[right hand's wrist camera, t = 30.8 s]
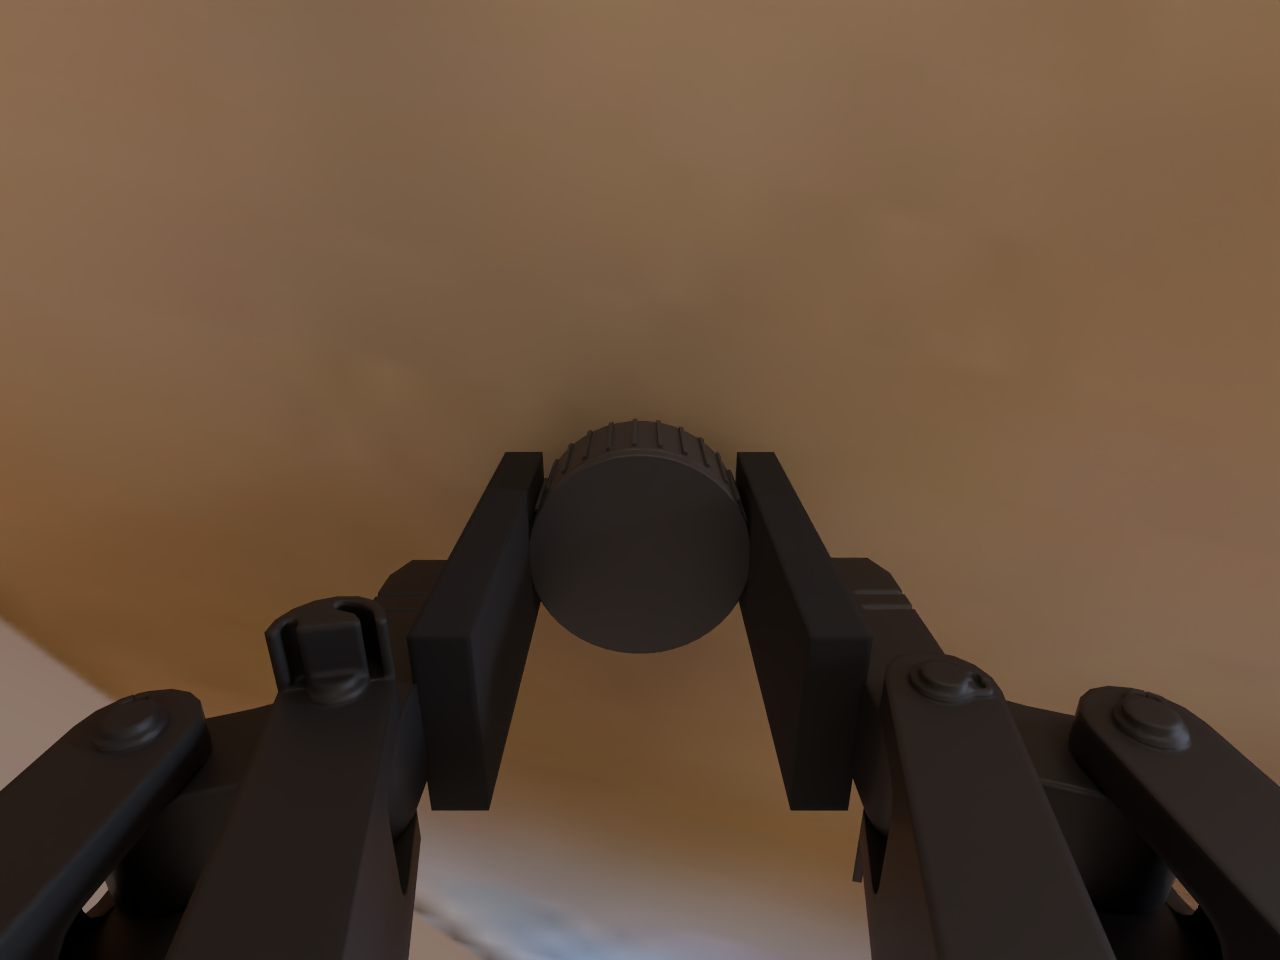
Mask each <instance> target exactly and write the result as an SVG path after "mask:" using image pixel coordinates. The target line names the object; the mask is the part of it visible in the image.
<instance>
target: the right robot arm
mask: <svg viewBox="0 0 1280 960" xmlns="http://www.w3.org/2000/svg"><path fill="white" fill-rule="evenodd" d="M543 482H544V472H543V454H542V452H505V454H504V456H503V458H502V460H501V462H500V464H499V465H498V467H497V469H496V471H495V473H494V475H493V477H492V478H491V480H490V482H489V484H488V486H487V488H486V490H485V491H484V493H483V495H482V497H481V499H480V501H479V502H478V504H477V506H476V508H475V510H474V512H473V514H472V515H471V517H470V519H469V521H468V523H467V525H466V527H465V528H464V530H463V532H462V534H461V536H460V538H459V540H458V541H457V543H456V545H455V547H454V549H453V551H452V553H451V554H450V556H449V558H448V560H412V561H410V562H409V563H407V564H406V565H404V566H403V567H402V568H400V569H399V570H397V571H396V572H394V573H393V574H391V575H390V576H389V577H388V579H387V580H386V582H385V583H384V585H383V586H382V588H381V589H380V591H379V592H378V597H375V598H374V600H371V599H367V598H363V597H359V596H337V597H332V598H327V599H322V600H316V601H313V602H310V603H308V604H305V605H302V606H299V607H297V608H294V609H292V610H290V611H289V612H287V613H286V614H284V615H282V616H281V617H279V618H278V619H276V620H275V621H274V622H273V623H272V624H271V626H270V627H269V628H268V629H267V630H266V631H265V632H264V633H265V637H266V642H267V646H268V650H269V654H270V659H271V663H272V667H273V671H274V676H275V680H276V684H277V688H278V694H277V696H276V699H275V701H274V703H273V704H270V705H266V706H262V707H259V708H255V709H251V710H246V711H241V712H236V713H231V714H226V715H222V716H217V717H212V718H207V719H205V715H204V712H203V709H202V705H201V702H200V700H199V699H198V698H196V697H195V696H194V695H193V694H192V693H190V692H186V691H181V690H175V689H166V690H156V691H147V692H143V693H138V694H136V695H131V696H128V697H125V698H122V699H120V700H118V701H116V702H114V703H112V704H110V705H108V706H105V707H103V708H101V709H99V710H97V711H95V712H94V713H92V714H91V715H89V716H88V717H87V718H85V719H84V720H82V721H81V722H80V723H78V724H77V725H75V726H74V727H73V728H72V729H70V730H69V731H68V732H67V733H66V734H65V735H64V736H63V737H61V738H60V739H59V740H58V741H57V742H56V743H55V744H53V745H52V746H51V747H50V748H49V749H48V750H47V751H45V752H44V753H43V754H42V755H41V756H40V757H39V758H38V759H36V760H35V761H34V762H33V763H32V764H31V765H30V766H29V767H27V768H26V769H25V770H24V771H23V772H22V773H20V774H19V775H18V776H17V777H16V778H15V779H14V780H13V781H11V782H10V783H9V784H8V785H7V786H6V787H5V788H3V789H2V790H1V791H0V960H408V958H409V948H410V938H411V929H412V919H413V909H414V899H415V890H416V880H417V870H418V861H419V851H420V841H421V836H420V829H419V823H418V816H417V810H416V809H417V806H418V804H419V801H420V798H421V795H422V793H423V790H424V787H425V785H426V782H428V789H429V796H430V802H431V809H432V810H489V808H490V804H491V799H492V795H493V791H494V787H495V783H496V779H497V775H498V771H499V767H500V763H501V759H502V755H503V751H504V747H505V743H506V739H507V735H508V731H509V727H510V723H511V719H512V715H513V711H514V707H515V703H516V699H517V695H518V691H519V687H520V683H521V679H522V675H523V671H524V667H525V663H526V659H527V655H528V651H529V647H530V643H531V639H532V635H533V630H534V626H535V622H536V618H537V614H538V610H539V606H540V602H541V600H540V598H539V596H538V594H537V592H536V590H535V588H534V585H533V582H532V576H531V561H530V545H529V536H530V532H531V527H532V524H533V521H534V518H535V515H536V512H534V508H535V505H536V502H537V500H538V497H539V494H540V491H541V488H542V485H543ZM735 483H736V486H737V489H738V492H739V495H740V498H741V501H742V502H741V503H742V506H743V509H744V512H745V515H746V518H747V526H748V530H749V534H750V554H749V569H748V581H747V584H746V586H745V589H744V591H743V593H742V595H741V597H740V599H739V604H740V608H741V612H742V616H743V620H744V624H745V628H746V632H747V636H748V640H749V644H750V648H751V652H752V656H753V660H754V664H755V668H756V673H757V677H758V681H759V685H760V689H761V693H762V697H763V701H764V705H765V709H766V713H767V717H768V721H769V725H770V729H771V733H772V737H773V741H774V745H775V749H776V753H777V757H778V761H779V765H780V769H781V773H782V777H783V781H784V785H785V789H786V793H787V797H788V801H789V805H790V809H791V810H848V806H849V799H850V793H851V786H852V779H853V780H854V782H855V785H856V788H857V790H858V793H859V796H860V799H861V801H862V804H863V807H864V810H863V816H862V823H861V829H860V835H859V842H858V848H857V854H856V861H855V867H854V874H853V880H852V881H855V882H860V883H861V882H862V877H863V879H864V888H865V898H866V907H867V917H868V927H869V936H870V946H871V956H872V960H1280V787H1279V786H1278V785H1277V784H1276V783H1275V782H1273V781H1272V780H1271V779H1270V778H1269V777H1268V776H1267V775H1265V774H1264V773H1263V772H1262V771H1261V770H1260V769H1259V768H1257V767H1256V766H1255V765H1254V764H1253V763H1252V762H1251V761H1249V760H1248V759H1247V758H1246V757H1245V756H1244V755H1243V754H1241V753H1240V752H1239V751H1238V750H1237V749H1236V748H1235V747H1233V746H1232V745H1231V744H1230V743H1229V742H1228V741H1226V740H1225V739H1224V738H1223V737H1222V736H1221V735H1220V734H1218V733H1217V732H1216V731H1215V730H1214V729H1213V728H1212V727H1210V726H1209V725H1208V724H1207V723H1206V722H1204V721H1203V720H1201V719H1200V718H1199V717H1197V716H1196V715H1194V714H1193V713H1191V712H1190V711H1189V710H1187V709H1186V708H1184V707H1182V706H1180V705H1178V704H1175V703H1173V702H1171V701H1169V700H1167V699H1165V698H1163V697H1161V696H1159V695H1156V694H1153V693H1150V692H1144V691H1143V690H1138V689H1133V688H1126V687H1115V686H1105V687H1099V688H1094V689H1090V690H1089V691H1087V692H1086V693H1085V694H1084V695H1083V696H1081V697H1080V700H1079V703H1078V707H1077V710H1076V713H1075V716H1073V715H1068V714H1063V713H1058V712H1053V711H1048V710H1044V709H1039V708H1034V707H1029V706H1025V705H1021V704H1017V703H1014V702H1010V701H1006V700H1005V697H1004V695H1003V693H1002V691H1001V689H1000V688H999V687H998V685H997V684H996V683H995V681H994V680H993V678H992V677H991V676H989V675H988V674H986V673H985V672H984V671H982V670H981V669H979V668H978V667H977V666H975V665H973V664H971V663H969V662H966V661H964V660H962V659H959V658H957V657H955V656H951V655H946V654H944V652H943V651H942V649H941V648H940V646H939V645H938V643H937V642H936V640H935V639H934V637H933V636H932V634H931V633H930V631H929V630H928V629H927V627H926V626H925V624H924V623H923V621H922V620H921V618H920V617H919V615H918V614H917V612H916V611H915V609H912V605H911V603H910V602H909V600H908V599H907V597H906V596H905V595H904V594H902V590H901V589H900V587H899V586H898V584H897V583H896V581H895V580H894V578H893V577H892V575H891V574H890V573H889V572H888V571H886V570H885V569H883V568H882V567H880V566H879V565H877V564H876V563H874V562H873V561H871V560H870V559H868V558H831V557H830V555H829V553H828V552H827V550H826V548H825V546H824V544H823V542H822V540H821V539H820V537H819V535H818V533H817V531H816V529H815V527H814V526H813V524H812V522H811V520H810V518H809V516H808V514H807V513H806V511H805V509H804V507H803V505H802V503H801V502H800V500H799V498H798V496H797V494H796V492H795V490H794V489H793V487H792V485H791V483H790V481H789V479H788V477H787V476H786V474H785V472H784V470H783V468H782V466H781V464H780V463H779V461H778V459H777V457H776V455H775V453H774V452H737V464H736V482H735ZM1175 878H1177V879H1178V880H1179V881H1180V883H1181V884H1182V885H1183V886H1184V887H1185V889H1186V890H1187V891H1188V892H1189V893H1190V895H1191V896H1192V897H1193V898H1194V899H1195V901H1196V902H1197V903H1198V904H1199V906H1198V908H1197V909H1196V911H1194V910H1193V909H1192V908H1190V907H1189V906H1188V905H1187V904H1186V903H1185V902H1184V901H1183V900H1182V898H1181V897H1180V896H1179V895H1178V894H1177V892H1176V891H1175V890H1174V889H1173V887H1172V885H1173V883H1174V880H1175ZM104 881H105V882H106V884H107V887H108V889H109V890H108V891H107V892H106V893H105V895H104V896H103V897H102V898H101V899H100V901H99V902H98V903H97V904H96V905H95V906H94V907H93V908H91V909H90V910H89V911H88V912H87V913H85V912H83V910H82V907H83V906H84V905H85V904H86V903H87V901H88V900H89V899H90V898H91V897H92V895H93V894H94V893H95V892H96V891H97V889H98V888H99V887H100V886H101V885H102V883H103V882H104Z"/></svg>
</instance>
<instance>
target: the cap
mask: <svg viewBox="0 0 1280 960" xmlns="http://www.w3.org/2000/svg"><path fill="white" fill-rule="evenodd" d="M741 502H742V501H741V498H740V495H739V492H738V489H737V486H736V483H735V480H734V477H733V475H732V472H731V470H728V471H727V469H726V467H725V466H724V464H723V463H722V460H721V457H720V454H719V453H718V452H716V453H714V452H713V451H712V450H711V449H710V448H709V447H708V446H707V445H706V444H705V443H704V440H703V439H702V438H701V437H700V438H699V439H698V438H697V437H695V436H693V435H691V434H689V433H688V432H686V431H684V430H683V427H680V426H679V428H676V427H674V426H670V425H666V424H662V423H661V421H659V420H656V422H649V421H637V419H633V421H630V422H622V423H617V424H614V423H613V422H611V423H609V426H606V427H603V428H601V429H598V430H596V431H594V432H592V431H591V430H590V431H588V432H587V435H586V436H585V437H583V438H582V439H580V440H579V441H578V442H576V443H575V444H573V443H571V444H570V445H569V446H568V450H567V451H566V452H565V453H564V454H563V455H562V457H561V458H560V459H559V460H557V459H556V460H555V461H554V464H553V467H552V470H551V473H550V475H549V478H545V479H544V482H543V485H542V488H541V491H540V494H539V497H538V500H537V502H536V505H535V508H534V512H536V515H535V518H534V521H533V524H532V527H531V532H530V536H529V545H530V561H531V576H532V582H533V585H534V588H535V590H536V592H537V594H538V596H539V598H540V600H541V602H542V603H543V605H544V606H545V607H546V609H547V610H548V611H549V613H550V614H551V615H552V616H553V617H554V618H555V619H556V620H557V621H558V622H559V623H560V624H561V625H562V626H563V627H565V628H566V629H567V630H568V631H569V632H571V633H573V634H574V635H576V636H577V637H579V638H581V639H583V640H585V641H587V642H589V643H591V644H593V645H596V646H599V647H602V648H605V649H608V650H613V651H617V652H625V653H655V652H662V651H666V650H671V649H675V648H678V647H681V646H683V645H686V644H689V643H691V642H693V641H695V640H697V639H699V638H701V637H702V636H704V635H705V634H707V633H708V632H710V631H711V630H712V629H714V628H715V627H716V626H717V625H719V624H720V623H721V622H722V621H723V620H724V619H725V618H726V617H727V616H728V615H729V613H730V612H731V611H732V609H733V608H734V607H735V605H736V604H737V602H738V601H739V599H740V597H741V595H742V593H743V591H744V589H745V586H746V584H747V581H748V569H749V554H750V534H749V530H748V526H747V518H746V515H745V512H744V509H743V506H742V503H741Z"/></svg>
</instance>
